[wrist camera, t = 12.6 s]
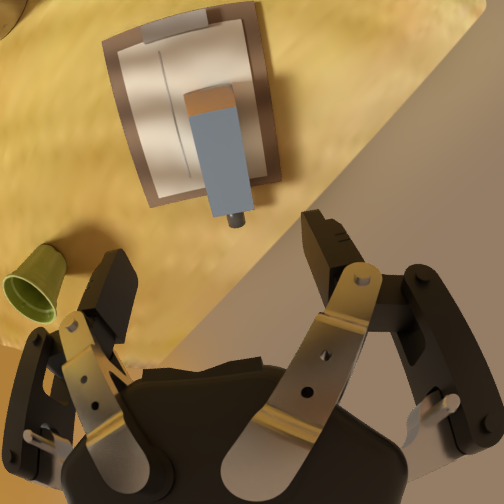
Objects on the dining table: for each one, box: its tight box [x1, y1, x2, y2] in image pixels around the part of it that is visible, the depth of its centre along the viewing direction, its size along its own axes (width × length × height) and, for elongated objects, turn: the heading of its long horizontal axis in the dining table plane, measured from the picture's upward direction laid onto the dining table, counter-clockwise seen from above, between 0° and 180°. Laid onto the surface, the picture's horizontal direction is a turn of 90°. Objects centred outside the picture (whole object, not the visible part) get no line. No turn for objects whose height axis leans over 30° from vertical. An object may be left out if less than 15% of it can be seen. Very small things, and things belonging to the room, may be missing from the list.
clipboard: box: [102, 1, 282, 208], centre depth 23 cm, size 20×15×2 cm
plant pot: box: [2, 245, 67, 324], centre depth 29 cm, size 9×9×9 cm
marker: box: [183, 83, 254, 228], centre depth 25 cm, size 14×4×4 cm, turn 9°
